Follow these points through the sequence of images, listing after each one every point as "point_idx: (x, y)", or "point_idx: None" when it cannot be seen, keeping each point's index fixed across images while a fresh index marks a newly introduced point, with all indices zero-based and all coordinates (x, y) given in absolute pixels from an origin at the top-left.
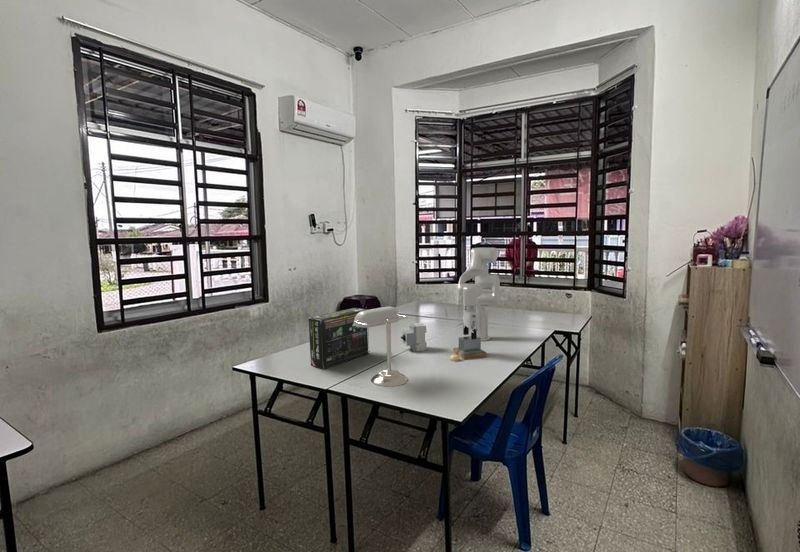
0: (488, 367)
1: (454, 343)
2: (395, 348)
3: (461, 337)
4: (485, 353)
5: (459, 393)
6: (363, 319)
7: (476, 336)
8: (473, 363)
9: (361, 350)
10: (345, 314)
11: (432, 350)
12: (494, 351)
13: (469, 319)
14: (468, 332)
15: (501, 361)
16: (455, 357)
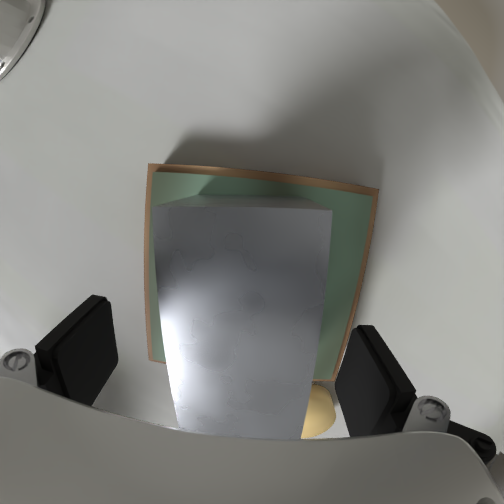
0: (490, 302)
1: (2, 219)
2: None
3: (191, 417)
4: (374, 197)
5: (500, 442)
6: None
7: (383, 343)
8: (415, 344)
9: None
10: None
11: (95, 399)
12: (262, 41)
13: None
14: (97, 317)
15: (472, 167)
16: (331, 424)
